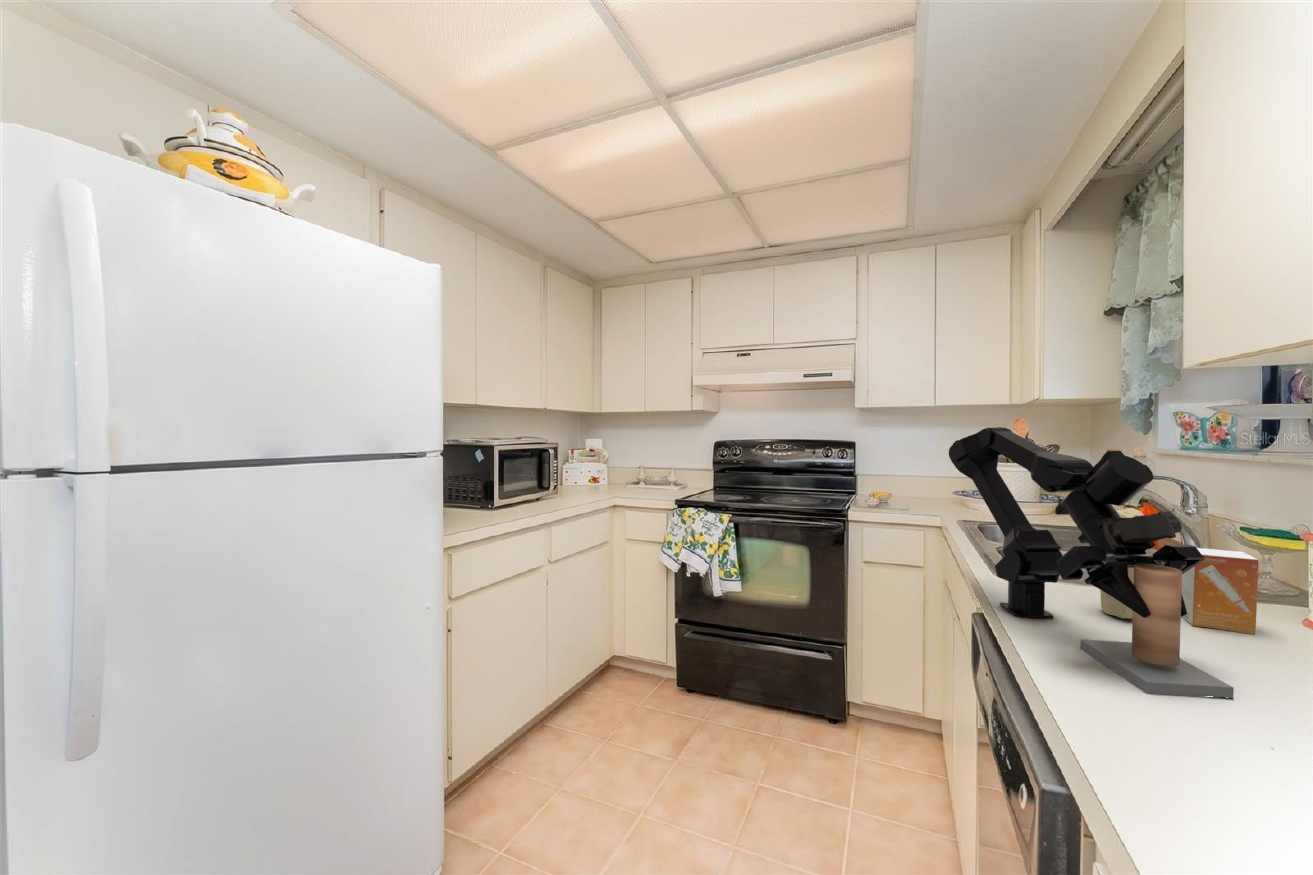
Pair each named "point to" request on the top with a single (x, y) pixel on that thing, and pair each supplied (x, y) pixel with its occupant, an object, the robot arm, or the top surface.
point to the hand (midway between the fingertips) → (1165, 616)
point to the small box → (1222, 591)
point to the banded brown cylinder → (1158, 614)
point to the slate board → (1156, 672)
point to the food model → (1113, 605)
